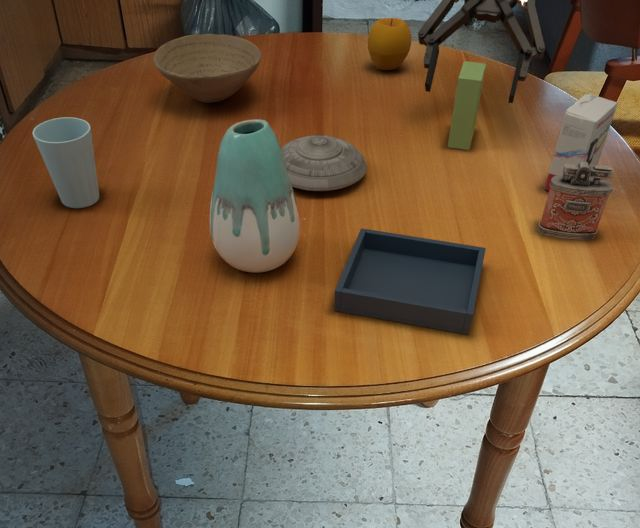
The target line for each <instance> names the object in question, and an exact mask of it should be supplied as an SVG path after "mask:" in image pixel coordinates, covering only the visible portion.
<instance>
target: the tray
mask: <svg viewBox="0 0 640 528" xmlns="http://www.w3.org/2000/svg"><path fill="white" fill-rule="evenodd" d="M486 250H487V249H486V247H484V246H483V247H482V246H476V245H471V244H464V243H459V242H452V241H451V242H450V241H445V240H438V239H434V238H433V239H431V238H426V237H419V236H413V235H406V234H399V233H395V232H387V231H381V230H377V229H376V230H374V229H369V228H363V227H361V228H360V230H359V232H358V234H357V236H356V240H355V242H354V244H353V246H352V248H351V251H350V253H349V256H348V258H347V261H346V263H345V265H344V268H343V271H342V273H341V276H340V277H339V279H338V282H337V284H336V287H335V289H334V307H333V312H340V313H344V314H345V313H346V314H350V315H355V316H362V317H368V318H372V319H378V320H383V321H389V322H393V323H401V324H406V325H411V326H417V327H422V328H427V329H434V330H438V331H439V330H440V331H444V332H449V333H456V334H461V335H467V336H468V335H470V330H471V326H472V321H473V318H474V314H475V309H476V302H477V296H478V293H479V286H480V281H481V275H482V271H483V265H484V260H485V255H486Z"/></svg>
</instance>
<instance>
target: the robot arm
mask: <svg viewBox="0 0 640 528" xmlns="http://www.w3.org/2000/svg"><path fill="white" fill-rule="evenodd" d="M459 1H460V0H441V1H440V2H439V4H438V5H437V7H435V9H434V11H433V12H432V13H431V15H430V16H429V17H428V19H427V20H426V21H425V22H424V24H423V25H422V26H421V28H420V29H419V30H418V32H417V36H418V37H417V38H418V43H419V45H421V46H422V45H423V46H425V47H426V48H425V52H424V57H423V67H424V69H427V72H426V76H425V80H424V88H425V89H424V90H425V92H428V93H430V92H431V89H432V85H433V81H434V76H435V73H436V67H437V64H438V59H439V56H440V45H441V44H442V43H444V42H445V41H446V40H447V39H448V38H449V37H451V36H452V35H453V34H454V33H456V31H458V30H459V29H460V28H461V27H463V25H465V24H468V23H469V22H471V21H472V20H473V19H476V21H477V22H486V21H487V22H489V23H492V24H496V23H497V22H501V24H502V25H503V28H504V29H506V31H507V32H508V34H509V36H510V38H511V40H512V42H513V44H514V45H515V47H516V49H517V52H518V58H517V62H516V66H515V69H514V74H513V79H512V83H511V86H510V91H509V95H508V102H507V103H508V104H514V100H515V95H516V92H517V88H518V83H519V82H525V81H526V79H527V77H528V74H529V73H528V72H529V69H530V66H531V65H530V64H531V62H532V61H533V60H539V61H540V60H542V59H543V58H544V55H545V52H546V51H545V50H546V46H545V45H546V44H545V41H544V37H543V32H542V29H541V24H540V19H539V17H538V16H539V15H538V11H537V7H536V0H465V3H464V4H463V5H462V6H461V8H460V9H459V10H458V11H457V12H456V13H454V14H453V15H452V16H451V17H450V18H449V19H447V20H446V21H445V22H444V23H442V22H443V20H444V19H445V18H446V17H447V15H448V14H449V13H450V11H451V10H452V9H453V6H454V5H455V3H456V4H457V3H458V2H459ZM518 4H519V5H520V6H521V9H522V11H524V12H525V20H526V22H527V23H526V24H527V27H528V30H529V35H530V39H531V44H532V46H531V44H530V42H529V40H528V38H527V37H526V34H525V33H524V31H523V29H522V27H521V26H520V24H519V22H518V20H517V18H516V16H515V14H514V11H513V9H514V8H515V7H516V6H517V5H518ZM441 23H442V25H440V24H441Z"/></svg>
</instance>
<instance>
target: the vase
mask: <svg viewBox="0 0 640 528" xmlns="http://www.w3.org/2000/svg"><path fill="white" fill-rule="evenodd" d="M219 144H220V145H219V148H218V153H217V159H216V169H215V176H214V181H213V182H214V183H213V187H212V191H211V196H210V197H211V199H210V206H209V233H210V238H211V241H212V243H213V246H214V248H215V250H216V252H217V254H218V255H219V256H220V258H222V260H224V261H225V262H226V263H227V264H228V265H229V266H231V267H232V268H234V269H236V270H239V271H242V272H247V273H258V274H259V273H266V272H269V271H273V270H275V269H277V268H280V267H282V266H283V265H284V264H285V263H286V262H287V261H289V259H290V258H291V257H292V255H293V254H294V253H295V251H296V249H297V246H298V243H299V240H300V235H301V219H300V212H299V206H298V203H297V198H296V195H295V192H294V187H292V185H291V183H290V180H289V177H288V174H287V170H286V166H285V162H284V158H283V154H282V151H281V148H282V147H281V145H280V142H279V139H278V137H277V134H276V132H275V131H274V129H273V128H272V126H271V125H270V123H269V122H268V121H266V120H264V119H260V118H257V119H246V120H241V121H239V122H236V123H234V124H232V125H231V126H230V127H228V128H227V129H226V131H225V132H224V135H223V136H222V138H221V141H220V143H219Z"/></svg>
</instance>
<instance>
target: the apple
mask: <svg viewBox="0 0 640 528" xmlns="http://www.w3.org/2000/svg"><path fill="white" fill-rule="evenodd" d="M412 37H413V36H412V32H411V29H410V26H409V24H408V22H406V21H405V20H403V19H401V18H399V17H384V18H379V19H378V20H376V21H375V22H374V23H373V25H372V26H371V27H370V30H369V33H368V36H367V50H368V54H369V57H370V59H371V61H372V63H373V65H374V67H375V68H376V69H378V70H380V71H393V70H396V69H397V68H400V66H401V65H402V64H403V63H404V61H405V60H406V58H407V57H408V55H409V53H410V51H411V46H412Z"/></svg>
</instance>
